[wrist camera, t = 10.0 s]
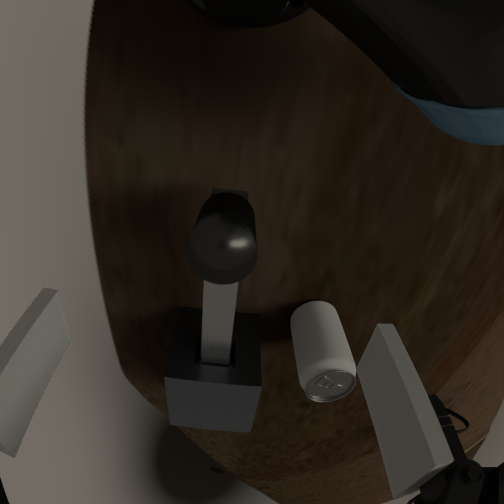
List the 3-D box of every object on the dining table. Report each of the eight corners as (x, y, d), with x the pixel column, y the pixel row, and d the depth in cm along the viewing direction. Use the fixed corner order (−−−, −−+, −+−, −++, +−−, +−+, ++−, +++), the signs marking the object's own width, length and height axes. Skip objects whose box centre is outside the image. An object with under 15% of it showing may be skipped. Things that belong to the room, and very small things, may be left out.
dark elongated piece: (206, 179, 26) (187, 218, 18) (257, 184, 27) (261, 226, 19) (197, 381, 39) (189, 438, 31) (230, 384, 39) (228, 442, 31)
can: (313, 342, 44) (328, 410, 33) (279, 321, 42) (288, 393, 31) (346, 313, 41) (371, 380, 31) (313, 290, 39) (333, 360, 29)
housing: (181, 306, 40) (164, 376, 30) (258, 314, 41) (262, 386, 30) (182, 358, 45) (170, 424, 34) (249, 364, 45) (250, 432, 35)
